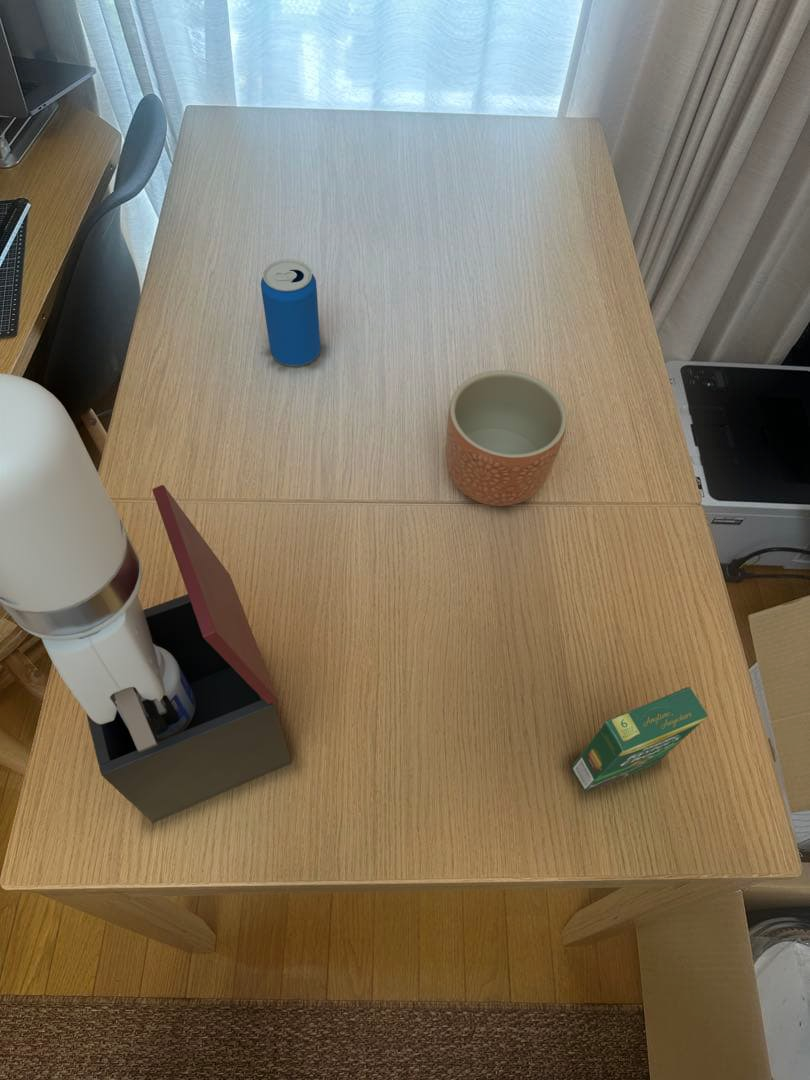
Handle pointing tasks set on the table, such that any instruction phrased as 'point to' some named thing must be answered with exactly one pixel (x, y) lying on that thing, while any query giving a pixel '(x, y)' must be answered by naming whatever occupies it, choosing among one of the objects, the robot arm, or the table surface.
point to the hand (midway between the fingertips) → (147, 689)
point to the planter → (503, 436)
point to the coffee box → (638, 739)
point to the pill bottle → (175, 692)
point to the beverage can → (291, 311)
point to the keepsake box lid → (214, 597)
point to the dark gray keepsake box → (193, 729)
